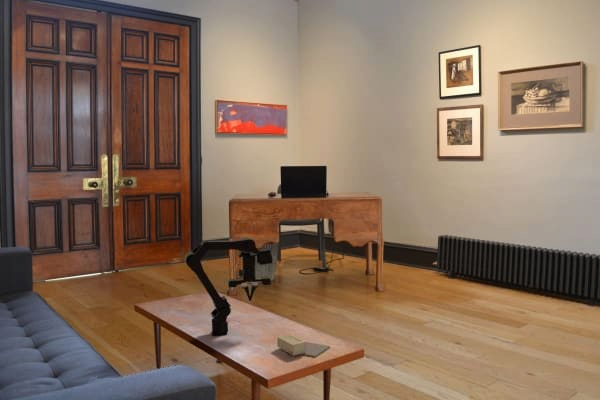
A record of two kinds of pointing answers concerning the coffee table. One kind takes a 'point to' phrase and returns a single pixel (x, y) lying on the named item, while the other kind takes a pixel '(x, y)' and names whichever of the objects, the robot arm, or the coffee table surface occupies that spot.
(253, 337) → the coffee table surface
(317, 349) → the mat
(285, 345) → the skincare box
